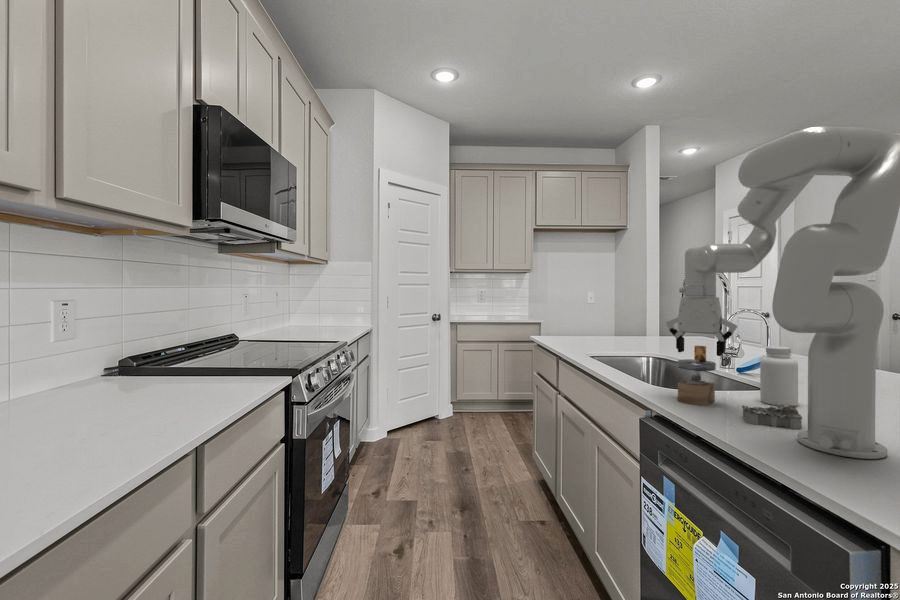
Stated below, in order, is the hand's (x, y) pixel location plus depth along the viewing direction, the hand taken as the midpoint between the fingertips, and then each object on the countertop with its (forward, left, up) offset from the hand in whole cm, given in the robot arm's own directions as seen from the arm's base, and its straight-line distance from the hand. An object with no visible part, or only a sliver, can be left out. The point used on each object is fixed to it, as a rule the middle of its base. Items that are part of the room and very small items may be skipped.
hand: (699, 353), depth 117 cm
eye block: (-4, 0, -13) cm, 13 cm away
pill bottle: (+9, -16, -13) cm, 23 cm away
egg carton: (-12, -18, -13) cm, 25 cm away
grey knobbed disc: (-3, 0, -7) cm, 7 cm away
